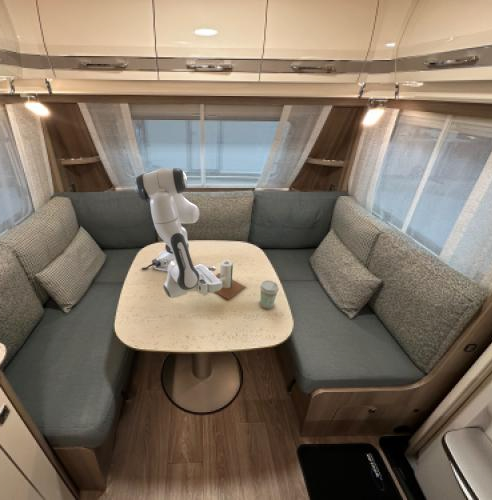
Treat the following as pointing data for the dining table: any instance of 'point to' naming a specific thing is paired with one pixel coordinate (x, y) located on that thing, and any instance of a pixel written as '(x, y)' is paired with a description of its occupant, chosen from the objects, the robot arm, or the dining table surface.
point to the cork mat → (230, 289)
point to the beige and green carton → (226, 273)
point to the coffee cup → (268, 293)
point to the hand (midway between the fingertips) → (219, 272)
